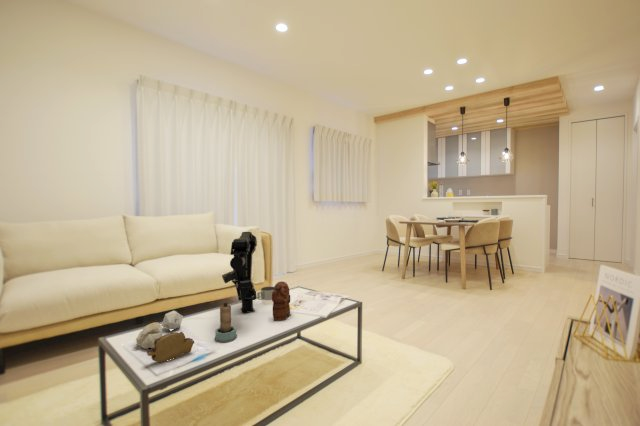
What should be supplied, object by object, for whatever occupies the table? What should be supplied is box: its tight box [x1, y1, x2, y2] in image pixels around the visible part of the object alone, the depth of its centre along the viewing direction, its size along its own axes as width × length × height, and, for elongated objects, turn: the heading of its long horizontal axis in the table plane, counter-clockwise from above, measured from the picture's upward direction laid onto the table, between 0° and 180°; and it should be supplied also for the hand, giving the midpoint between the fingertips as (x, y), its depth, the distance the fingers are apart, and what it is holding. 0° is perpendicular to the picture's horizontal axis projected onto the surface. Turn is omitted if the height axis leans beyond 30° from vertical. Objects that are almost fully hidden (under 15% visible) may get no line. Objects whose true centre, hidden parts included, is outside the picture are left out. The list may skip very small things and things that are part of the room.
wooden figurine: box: [271, 281, 291, 322], centre depth 161 cm, size 12×6×18 cm, turn 161°
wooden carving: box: [146, 331, 195, 363], centre depth 120 cm, size 16×5×10 cm, turn 136°
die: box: [160, 310, 184, 330], centre depth 147 cm, size 8×9×10 cm
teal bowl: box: [214, 325, 238, 344], centre depth 137 cm, size 9×9×4 cm
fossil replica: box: [136, 321, 163, 350], centre depth 131 cm, size 12×8×10 cm
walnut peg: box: [219, 302, 232, 333], centre depth 137 cm, size 4×4×15 cm
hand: (240, 298), depth 153 cm, fingers open, 9 cm apart
